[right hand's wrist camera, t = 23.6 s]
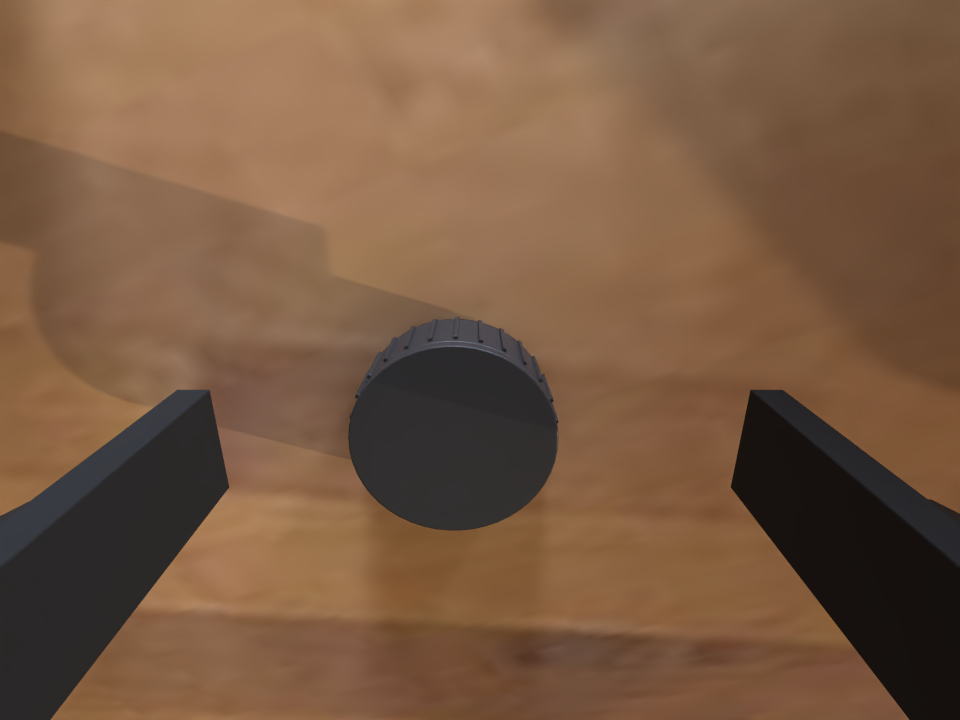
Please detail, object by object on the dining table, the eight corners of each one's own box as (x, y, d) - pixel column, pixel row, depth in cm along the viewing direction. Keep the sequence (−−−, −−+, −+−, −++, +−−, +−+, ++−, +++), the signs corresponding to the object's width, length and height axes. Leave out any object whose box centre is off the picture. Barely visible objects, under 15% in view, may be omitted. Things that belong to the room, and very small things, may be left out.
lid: (352, 468, 16) (333, 515, 14) (376, 298, 14) (359, 322, 12) (524, 497, 17) (532, 547, 14) (569, 336, 15) (586, 366, 13)
